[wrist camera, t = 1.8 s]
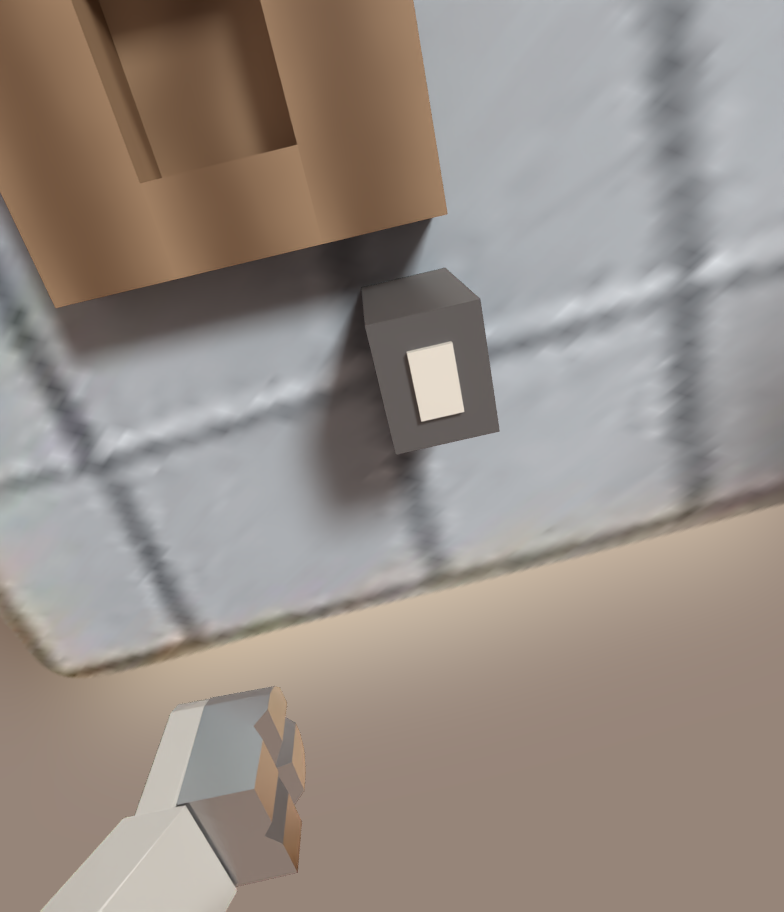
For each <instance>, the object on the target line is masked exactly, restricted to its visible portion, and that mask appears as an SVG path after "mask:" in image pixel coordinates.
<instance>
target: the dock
mask: <svg viewBox="0 0 784 912" xmlns="http://www.w3.org/2000/svg"><path fill="white" fill-rule="evenodd" d="M0 193H1V195H2V197H3V199H4V201H5V203H6V205H7V207H8V209H9V212H10V214H11V216H12V218H13V220H14V222H15V224H16V226H17V228H18V230H19V233H20V235H21V237H22V239H23V241H24V243H25V245H26V247H27V249H28V251H29V253H30V256H31V258H32V260H33V262H34V264H35V266H36V268H37V270H38V272H39V274H40V277H41V279H42V281H43V283H44V285H45V287H46V289H47V291H48V293H49V295H50V298H51V300H52V302H53V304H54V306H55V308H58V307H63V306H67V305H71V304H75V303H79V302H83V301H88V300H92V299H96V298H100V297H104V296H108V295H113V294H117V293H121V292H125V291H129V290H133V289H138V288H142V287H146V286H150V285H154V284H158V283H163V282H167V281H171V280H175V279H179V278H183V277H188V276H192V275H196V274H200V273H204V272H208V271H213V270H217V269H221V268H225V267H229V266H233V265H238V264H242V263H246V262H250V261H254V260H258V259H263V258H267V257H271V256H275V255H279V254H283V253H288V252H292V251H296V250H300V249H304V248H308V247H313V246H317V245H321V244H325V243H329V242H333V241H338V240H342V239H346V238H350V237H354V236H358V235H363V234H367V233H371V232H375V231H379V230H383V229H388V228H392V227H396V226H400V225H404V224H408V223H413V222H417V221H421V220H425V219H429V218H433V217H438V216H442V215H446V214H447V208H446V201H445V195H444V189H443V183H442V177H441V170H440V164H439V158H438V152H437V145H436V139H435V133H434V127H433V121H432V114H431V108H430V102H429V96H428V89H427V83H426V77H425V71H424V65H423V58H422V52H421V46H420V40H419V33H418V27H417V21H416V15H415V9H414V2H413V0H0Z"/></svg>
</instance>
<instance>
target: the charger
mask: <svg viewBox="0 0 784 912" xmlns="http://www.w3.org/2000/svg"><path fill="white" fill-rule="evenodd" d="M361 288H362V299H363V311H364V322H365V329H366V333H367V337H368V341H369V345H370V350H371V354H372V358H373V362H374V366H375V370H376V375H377V379H378V383H379V387H380V391H381V395H382V400H383V404H384V408H385V412H386V416H387V420H388V425H389V429H390V433H391V437H392V441H393V445H394V449H395V454H396V455H397V454H401V453H406V452H410V451H415V450H419V449H424V448H428V447H433V446H437V445H441V444H446V443H450V442H455V441H459V440H464V439H468V438H473V437H477V436H481V435H486V434H490V433H495V432H499V424H498V417H497V410H496V403H495V396H494V390H493V383H492V376H491V369H490V362H489V355H488V349H487V342H486V335H485V328H484V321H483V314H482V307H481V301H480V298H479V297H478V296H476V295H475V294H474V293H473V292H472V291H471V290H470V289H469V288H467V287H466V286H465V285H464V284H463V283H462V282H461V281H460V280H458V279H457V278H456V277H455V276H454V275H453V274H452V273H451V272H450V271H448V270H447V269H446V268H442V269H438V270H433V271H429V272H425V273H421V274H416V275H412V276H408V277H404V278H399V279H395V280H391V281H387V282H383V283H378V284H374V285H370V286H366V287H361Z"/></svg>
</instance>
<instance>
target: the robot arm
mask: <svg viewBox="0 0 784 912" xmlns="http://www.w3.org/2000/svg"><path fill="white" fill-rule="evenodd" d="M286 708H287V702H286V699H285V697H284V695H283V693H282V691H281V689H280V687H275V686H273V687H268V688H262V689H257V690H251V691H246V692H240V693H235V694H229V695H224V696H218V697H213V698H210V699H206V700H200V701H195V702H190V703H184V704H178V705H177V706H176V708H175V709H174V710H173V711H172V712H171V714H170V715H169V718H168V721H167V724H166V727H165V729H164V732H163V735H162V738H161V741H160V744H159V747H158V750H157V752H156V755H155V758H154V761H153V764H152V766H151V770H150V772H149V775H148V778H147V781H146V783H145V786H144V789H143V792H142V795H141V798H140V801H139V804H138V806H137V809H136V812H135V815H134V816H129V817H125V818H123V819H122V820H121V821H120V822H119V824H118V825H117V826H116V827H115V828H114V829H113V830H112V831H111V832H110V834H109V835H108V836H107V837H106V838H105V839H104V840H103V841H102V843H101V844H100V845H99V846H98V847H97V848H96V849H95V850H94V851H93V853H92V854H91V855H90V856H89V857H88V858H87V859H86V860H85V862H84V863H83V864H82V865H81V866H80V867H79V868H78V869H77V870H76V871H75V873H74V874H73V875H72V876H71V877H70V878H69V879H68V880H67V882H66V883H65V884H64V885H63V886H62V887H61V888H60V889H59V891H58V892H57V893H56V894H55V895H54V896H53V897H52V898H51V900H50V901H49V902H48V903H47V904H46V905H45V906H44V907H43V908H42V909H41V911H40V912H226V910H227V909H228V907H229V905H230V903H231V902H232V900H233V898H234V896H235V894H236V893H237V889H236V887H237V886H242V885H246V884H250V883H255V882H259V881H263V880H268V879H272V878H276V877H281V876H285V875H290V874H294V873H298V862H299V849H300V839H301V826H302V821H301V819H300V817H299V815H298V812H297V810H296V808H295V806H294V805H295V804H296V802H297V801H298V799H299V798H300V796H301V795H302V793H303V792H304V789H305V774H306V768H305V754H304V747H303V743H302V739H301V734H300V732H299V729H298V727H297V725H296V723H295V722H293V721H291V720H289V719H288V718H286V717H285V716H286Z"/></svg>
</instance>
